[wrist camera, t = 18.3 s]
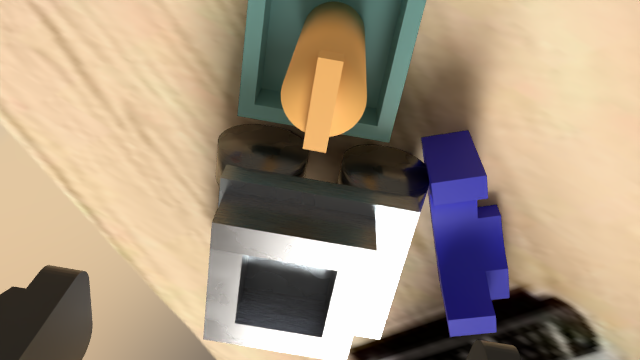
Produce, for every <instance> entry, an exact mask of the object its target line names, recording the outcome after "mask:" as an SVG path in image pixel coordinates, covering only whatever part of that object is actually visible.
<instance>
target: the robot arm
mask: <svg viewBox="0 0 640 360" xmlns="http://www.w3.org/2000/svg"><path fill="white" fill-rule="evenodd" d="M91 333H92V311H91V299H90V285H89V276H88V274H87V272H85V271H80V270H74V269H68V268H62V267H56V266H50V265H48V266H45V267H44V268H43V269H42V270H41V271H40V272H39V273H38V274H37V276H36V277H35V278H34V280H33V281H32V282H31V283H30V284H29V286H28V287H27V288H26V289H25V288H19V287H11V288H10V289H8V290H7V291H5V292H4V293H2V294H0V360H82V358H83V357H84V354H85V352H86V350H87V347H88V345H89V342H90V338H91ZM466 360H521V358H520V355H519V352H518V350H517V348H516V347H515V346H513V345H507V344H501V343H495V342H489V341H483V340H476V341H475V342H474V343H473V345H472V347H471V350H470V352H469V354H468V356H467V359H466Z"/></svg>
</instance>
